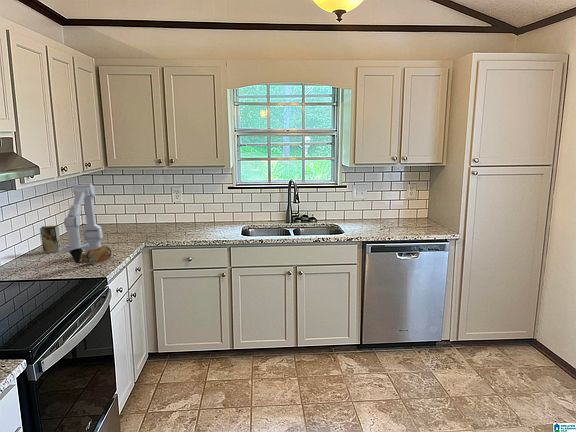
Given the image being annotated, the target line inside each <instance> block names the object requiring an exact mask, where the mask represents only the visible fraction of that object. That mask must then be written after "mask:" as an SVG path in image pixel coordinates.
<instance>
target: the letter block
mask: <svg viewBox="0 0 576 432" xmlns="http://www.w3.org/2000/svg"><path fill="white" fill-rule="evenodd" d="M86 254H87V253H85V252H82V254H81V257H80V258H81V261H82V262H84V263H88V262H87V260H86Z"/></svg>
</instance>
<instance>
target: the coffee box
mask: <svg viewBox="0 0 576 432" xmlns="http://www.w3.org/2000/svg"><path fill="white" fill-rule="evenodd" d="M39 231H40V232H39V233H40V239H41V244H42V250H43V251H42V252H43V254H48V253H49V254H50V253H59V252H61V249H62V244H61V242H62V241H61V237H60V230H59V225H48V226H47V225H45V226H44V225H43V226H41V227H40V228H39Z"/></svg>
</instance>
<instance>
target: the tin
mask: <svg viewBox="0 0 576 432" xmlns="http://www.w3.org/2000/svg"><path fill="white" fill-rule="evenodd" d="M111 256H112V250H111V248H110V247H109V246H106V245H105V246H102V245H101V247H98V248H95V249H91V250H89V251H88V252H87V254H86V260H87V262H86V263H88V264H91V265H97V264H99V263H102V262H106V261H108V260H110V258H111Z"/></svg>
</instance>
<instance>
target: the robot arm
mask: <svg viewBox="0 0 576 432" xmlns="http://www.w3.org/2000/svg"><path fill="white" fill-rule="evenodd" d="M72 191H73V194H74V200H73V203H72V205H71V206H70V208H69V211H68V214H67V216H66V217H65V218H64V221H63V225H64V228H65V231H66V232H67V239H68V247H64V248H61V251H60V253H62V254H66V253H69V254H70V256H71V257H72V259H73V260H74V263H75V264H79V263H80V262H81V258H82V257H81V254H83V253H87V252H88V251H89V250H91V249H95V248H98V247H102V243H101V240H102V239H103V238H104V232H103V230H102V226H101V225H99V224H97V223H96V222H97V221H96V215H95V214H96V213H95V205H94V199H93V198H95V197H96V190H95V187H94V185H93V184H92V183H90V184H74V185H73V188H72ZM82 204H84V212H85V219H86V220H85V221H86V225H85V226H84V227H83V228H82V237H83V239H84V240H85V242H84V243H82V240H81V235H80V225H81V214H82V209H83V208H82V207H81V206H82ZM83 249H84V251H85V252H84V251H83Z"/></svg>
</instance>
